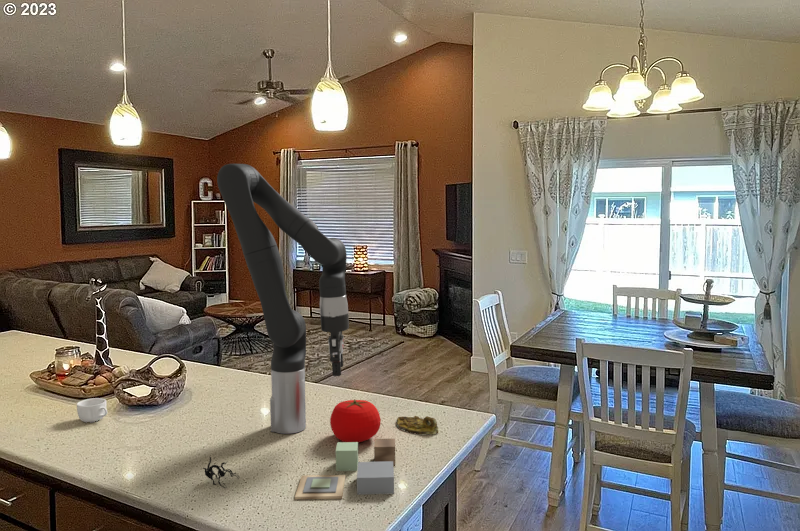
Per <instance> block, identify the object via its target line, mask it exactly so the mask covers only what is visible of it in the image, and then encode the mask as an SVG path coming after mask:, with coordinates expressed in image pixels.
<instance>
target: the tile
mask: <svg viewBox="0 0 800 531" xmlns="http://www.w3.org/2000/svg"><path fill="white" fill-rule="evenodd" d="M345 482H346V474H324V475H322V474H318V475H316V474H314V475H313V474H312V475H310V474H309V475H301V477H300V479H299V483H298V485H297V488H296V492H295V495H294V500H343V497H344V495H343V494H344V489H345Z"/></svg>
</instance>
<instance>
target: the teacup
mask: <svg viewBox="0 0 800 531" xmlns="http://www.w3.org/2000/svg"><path fill="white" fill-rule="evenodd" d="M76 410H77V411H76V412H77V416H78V418H79V420H81V421H82V422H84V423H87V422H90V423H96V422H98V420H99V421H100V419H101V420H102V419H103V418H104V417H106V416H107V415H108V409H107V399H105V398H101V397H100V398H99V397H95V398H94V397H93V398H92V397H91V398H87V399H82V400H79V401H78V402H76ZM95 421H96V422H95Z"/></svg>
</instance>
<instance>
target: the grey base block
mask: <svg viewBox="0 0 800 531" xmlns="http://www.w3.org/2000/svg"><path fill="white" fill-rule="evenodd" d="M394 469H395V468H394V467H393V461H383V462H374V461H358V468H357V471H356V474H357V475H356V495H390V494H391V495H393V494H395V472H394Z"/></svg>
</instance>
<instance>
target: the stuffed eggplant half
mask: <svg viewBox="0 0 800 531" xmlns="http://www.w3.org/2000/svg"><path fill="white" fill-rule="evenodd" d="M395 422H396V423H395V424H396V427H397V428H398V429H399V428H400V429H399V430H401V429H403V430H405V431H404V432H406V431H408V432H407V433H410V432H411V434H414V433H416V434H415V435H420V434H433V435H438V434H439V432H440V429H439V427H438V422H437V419H436V418H435V417H431V416H425V417H424V418H421V417H419V416H417V415H414V416H398V417H396V421H395ZM403 430H402V431H403ZM437 433H438V434H437Z"/></svg>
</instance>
